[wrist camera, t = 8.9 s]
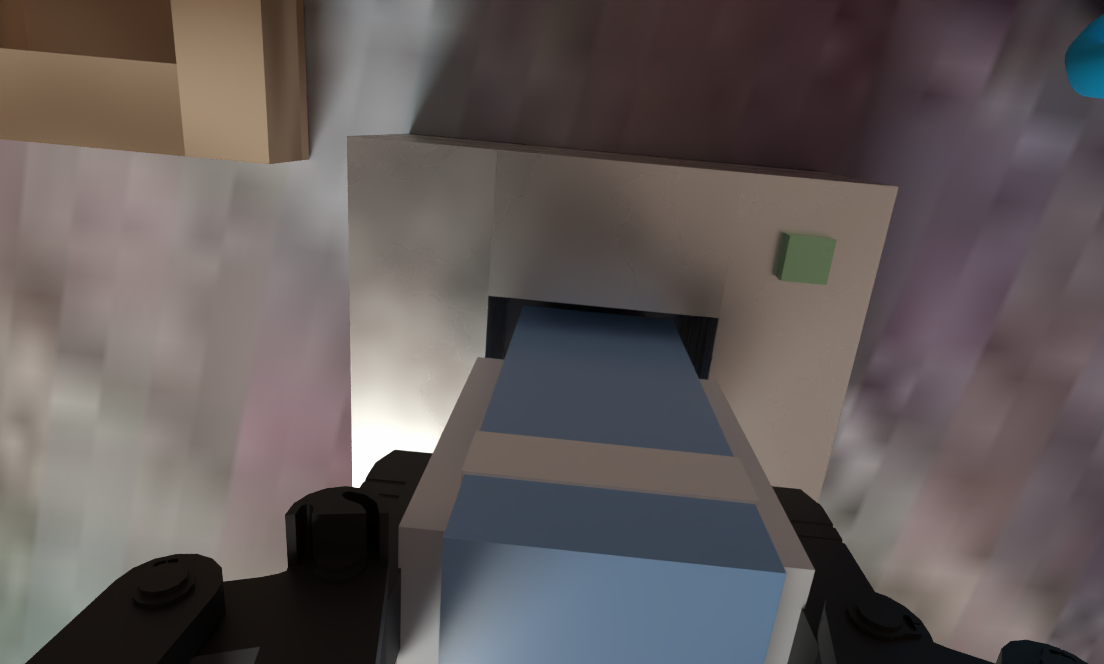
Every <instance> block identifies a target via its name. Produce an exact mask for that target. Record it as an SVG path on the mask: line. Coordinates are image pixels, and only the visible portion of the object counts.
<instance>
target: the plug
mask: <svg viewBox="0 0 1104 664" xmlns="http://www.w3.org/2000/svg"><path fill="white" fill-rule="evenodd" d="M759 502H760V501H759V499H758V497H757V495H756V492H755V490H754V488H753V486H752V484H751V482H750V480H749V477H748V475H747V473H746V471H745V469H744V467H743V464H742V462H741V460H740V458H739V457H734V456H733V454H732V451H731V449H730V447H729V445H728V442H727V440H726V438H725V436H724V434H723V431H722V429H721V427H720V425H719V422H718V420H717V418H716V416H715V414H714V411H713V409H712V407H711V405H710V402H709V400H708V398H707V396H706V394H705V391H704V389H703V387H702V385H701V382H700V380H699V378H698V376H697V374H696V371H695V369H694V367H693V365H692V363H691V360H690V358H689V356H688V354H687V351H686V349H685V347H684V345H683V343H682V340H681V338H680V336H679V334H678V331H677V329H676V327H675V325H674V323H673V320H669V319H659V318H649V317H638V316H628V315H618V314H608V313H597V312H587V311H577V310H566V309H556V308H546V307H535V306H525V305H523V307H522V310H521V313H520V316H519V319H518V322H517V325H516V328H515V330H514V333H513V336H512V339H511V342H510V345H509V348H508V351H507V354H506V356H505V359H504V362H503V365H502V368H501V371H500V374H499V377H498V380H497V382H496V385H495V388H494V391H493V394H492V397H491V400H490V403H489V406H488V408H487V411H486V414H485V417H484V420H483V423H482V426H481V429H480V431H475V434H474V437H473V439H472V442H471V445H470V448H469V451H468V453H467V456H466V459H465V462H464V464H463V467H462V470H461V486H460V489H459V492H458V495H457V498H456V501H455V504H454V507H453V510H452V512H451V515H450V518H449V521H448V524H447V527H446V530H445V533H444V536H443V546H442V573H441V600H440V627H439V654H438V664H764V663H765V659H766V655H767V651H768V647H769V643H770V639H771V635H772V631H773V627H774V622H775V618H776V614H777V610H778V606H779V602H780V598H781V594H782V590H783V586H784V582H785V578H786V574H787V573H786V571H785V569H784V567H783V565H782V562H781V560H780V558H779V556H778V553H777V551H776V549H775V547H774V545H773V542H772V540H771V538H770V536H769V533H768V531H767V529H766V527H765V525H764V522H763V520H762V518H761V516H760V513H759V511H758V507H759Z"/></svg>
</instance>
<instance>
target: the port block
mask: <svg viewBox="0 0 1104 664" xmlns="http://www.w3.org/2000/svg"><path fill="white" fill-rule="evenodd" d="M347 161H348V224H349V287H350V350H351V412H352V475H353V487H358V488H360V486H361V485H362V483H363V481H365V478H366V477H367V475H368V473H369V472H370V470H371V469H372V467H373V465H374V464H375V462H376V461H378V460H379V459H381V458H383V457H384V456H386V455H387V454H389V453H390V452H392V451H393V450H405V451H415V452H424V453H433V452H434V450H435V447H436V445H437V443H438V441H439V439H440V437H441V435H442V432H443V430H444V428H445V426H446V424H447V422H448V420H449V417H450V415H451V413H452V411H453V409H454V407H455V404H456V402H457V400H458V398H459V396H460V394H461V392H462V389H463V387H464V385H465V383H466V381H467V379H468V377H469V374H470V372H471V370H472V368H473V366H474V364H475V362H476V359H477V357H482V358H492V359H502V360H504V359H505V356H506V354H507V351H508V348H509V345H510V342H511V339H512V336H513V333H514V330H515V328H516V325H517V322H518V319H519V316H520V313H521V310H522V307H523V305H525V306H535V307H546V308H556V309H566V310H577V311H587V312H597V313H608V314H618V315H628V316H638V317H649V318H659V319H669V320H673V323H674V325H675V327H676V329H677V331H678V334H679V336H680V338H681V340H682V343H683V345H684V347H685V349H686V351H687V354H688V356H689V358H690V360H691V363H692V365H693V367H694V369H695V371H696V374H697V376H698V378H699V379H704V380H714V381H718V383H719V385H720V387H721V389H722V391H723V393H724V395H725V397H726V399H727V401H728V403H729V405H730V407H731V409H732V411H733V412H734V414H735V416H736V418H737V420H738V422H739V424H740V426H741V428H742V430H743V432H744V434H745V436H746V438H747V440H748V441H749V443H750V445H751V447H752V449H753V451H754V453H755V455H756V457H757V459H758V461H759V463H760V465H761V467H762V469H763V470H764V472H765V474H766V476H767V478H768V480H769V482H770V484H771V486H775V487H785V488H795V489H801V490H802V491H804V492H805V493H806V494H807V495H809V496H810V497H811V498H812V499H813V500H815V501H816V502H817V503H818V501H819V497H820V493H821V489H822V485H823V481H824V477H825V473H826V469H827V466H828V462H829V458H830V454H831V450H832V446H833V442H834V438H835V434H836V430H837V426H838V422H839V418H840V415H841V411H842V407H843V403H844V399H845V395H846V391H847V387H848V383H849V379H850V375H851V371H852V368H853V364H854V360H855V356H856V352H857V348H858V344H859V340H860V336H861V332H862V328H863V324H864V320H865V317H866V313H867V309H868V305H869V301H870V297H871V293H872V289H873V285H874V281H875V277H876V273H877V270H878V266H879V262H880V258H881V254H882V250H883V246H884V242H885V238H886V234H887V230H888V226H889V222H890V219H891V215H892V211H893V207H894V203H895V199H896V195H897V191H898V187H897V186H892V185H887V184H881V183H876V182H871V181H866V180H860V179H855V178H850V177H845V176H840V175H834V174H829V173H824V172H819V171H810V170H799V169H788V168H777V167H766V166H755V165H744V164H733V163H722V162H712V161H701V160H690V159H679V158H668V157H657V156H646V155H635V154H624V153H614V152H603V151H592V150H581V149H570V148H559V147H548V146H537V145H526V144H516V143H505V142H494V141H483V140H472V139H461V138H450V137H439V136H428V135H417V134H387V135H361V136H347Z"/></svg>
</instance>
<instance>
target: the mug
mask: <svg viewBox="0 0 1104 664" xmlns="http://www.w3.org/2000/svg"><path fill="white" fill-rule="evenodd" d="M1065 67H1066V72H1067V76H1068V80H1069V82H1070V84H1071V86H1072V88H1073V89H1074V90H1075V91H1076V92H1077V93H1078V94H1080V95H1083V96H1086V97H1094V98H1103V99H1104V14H1103V15H1101V16H1100V17H1099V18H1097V19H1096V20H1094V21H1093V22H1092V23H1090V24H1089V25H1088V26H1087V27H1086V29H1085V30H1084V31H1083V32H1082V33H1081V34H1080V35H1079V36H1078V37H1077V38H1076V39H1075V40H1074V41H1073V42H1072V44H1071V45H1070V46H1069V48H1068V50H1067V52H1066V55H1065Z"/></svg>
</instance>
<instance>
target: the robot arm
mask: <svg viewBox="0 0 1104 664" xmlns="http://www.w3.org/2000/svg"><path fill="white" fill-rule="evenodd" d="M503 362H504V360H502V359H492V358H482V357H477V359H476V362H475V364H474V366H473V368H472V370H471V372H470V374H469V377H468V379H467V381H466V383H465V385H464V387H463V389H462V392H461V394H460V396H459V398H458V400H457V402H456V404H455V407H454V409H453V411H452V413H451V415H450V417H449V420H448V422H447V424H446V426H445V428H444V430H443V432H442V435H441V437H440V439H439V441H438V443H437V445H436V447H435V450H434V452H433V453H424V452H415V451H405V450H393V451H392V452H390V453H389V454H387V455H386V456H384V457H383V458H381V459H379V460H378V461H376V462H375V464H374V465H373V467H372V469H371V470H370V472H369V473H368V475H367V477H366V478H365V481H363V483H362V485H361V486H360V488H358V487H347V486H343V487H335V488H326V489H323V490H320V491H317V492H314V493H311V494H308V495H306V496H305V497H303V498H302V499H300V500H298V501H297V502H295V503H294V504H293V505H292V506H291V508H290V509H289V510H288V512H287V513H286V514H285V521H286V539H287V557H288V568H287V571H285V572H282V573H279V574H275V575H270V576H264V577H258V578H250V579H242V580H234V581H225V582H223V576H222V567H220V566H219V565H218V564H217V563H216V562H215V561H214V560H213V559H212V558H209V557H205V556H202V555H199V554H175V555H170V556H166V557H161V558H156V559H153V560H151V561H148V562H146V563H144V564H141V565H139V566H137V567H134V568H132V569H131V570H130V571H128V572H127V573H125V574H124V575H123V576H121V577H120V578H118V579H117V580H115V581H114V582H113V583H112V584H111V585H110V586H109V587H108V588H107V589H106V590H105V591H103V592H102V593H101V594H100V595H99V596H98V597H97V598H96V599H95V600H94V601H93V602H91V603H90V604H89V605H88V606H87V607H86V608H85V609H84V610H83V611H82V612H81V613H80V614H78V615H77V616H76V617H75V618H74V619H73V620H72V621H71V622H70V623H69V624H68V625H67V626H65V627H64V628H63V629H62V630H61V631H60V632H59V633H58V634H57V635H56V636H55V637H53V638H52V639H51V640H50V641H49V642H48V643H47V644H46V645H45V646H44V647H43V648H42V649H40V650H39V651H38V652H37V653H36V654H35V655H34V656H33V657H32V658H31V659H30V660H28V661H27V662H26V663H25V664H395V662H396V659H397V664H438V654H439V627H440V600H441V573H442V546H443V536H444V533H445V530H446V527H447V524H448V521H449V518H450V515H451V512H452V510H453V507H454V504H455V501H456V498H457V495H458V492H459V489H460V486H461V470H462V467H463V464H464V462H465V459H466V456H467V453H468V451H469V448H470V445H471V442H472V439H473V437H474V434H475V431H480V429H481V426H482V423H483V420H484V417H485V414H486V411H487V408H488V406H489V403H490V400H491V397H492V394H493V391H494V388H495V385H496V382H497V380H498V377H499V374H500V371H501V368H502V365H503ZM699 380H700V382H701V385H702V387H703V389H704V391H705V394H706V396H707V398H708V400H709V402H710V405H711V407H712V409H713V411H714V414H715V416H716V418H717V420H718V422H719V425H720V427H721V429H722V431H723V434H724V436H725V438H726V440H727V442H728V445H729V447H730V449H731V451H732V454H733V456H734V457H739V458H740V460H741V462H742V464H743V467H744V469H745V471H746V473H747V475H748V477H749V480H750V482H751V484H752V486H753V488H754V490H755V492H756V495H757V497H758V499H759V501H760V502H759V507H758V511H759V513H760V516H761V518H762V520H763V522H764V525H765V527H766V529H767V531H768V533H769V536H770V538H771V540H772V542H773V545H774V547H775V549H776V551H777V553H778V556H779V558H780V560H781V562H782V565H783V567H784V569H785V571H786V573H787V574H786V578H785V582H784V586H783V590H782V594H781V598H780V602H779V606H778V610H777V614H776V618H775V622H774V627H773V631H772V635H771V639H770V643H769V647H768V651H767V655H766V659H765V663H764V664H995V663H992V662H989V661H986V660H983V659H980V658H977V657H974V656H971V655H968V654H965V653H961V652H958V651H955V650H952V649H949V648H947V647H944V646H942V645H939V644H937V643H934V642H933V640H932V637H931V635H930V633H929V632H928V630H927V629H926V627H925V626H924V624H923V623H922V621H921V620H920V619H919V618H918V617H916V616H915V615H914V614H913V613H912V612H911V611H910V610H908V609H907V608H906V607H905V606H903V605H901V604H900V603H898V602H896V601H894V600H892V599H891V598H889V597H887V596H885V595H882V594H879V593H876V592H875V591H874V590H873V588H872V587H871V585H870V583H869V582H868V580H867V578H866V577H865V575H864V574H863V572H862V570H861V569H860V567H859V566H858V564H857V562H856V561H855V559H854V558H853V556H852V554H851V553H850V551H849V549H848V548H847V546H846V545H845V544H844V543H842V538H841V537H840V535H839V533H838V532H837V530H836V529H835V528H833V524H832V522H831V521H830V519H829V517H828V516H827V514H826V512H825V511H824V509H823V508H822V506H821V505H820V504H818V503H817V502H816V501H815V500H813V499H812V498H811V497H810V496H809V495H807V494H806V493H805V492H804V491H802V490H801V489H795V488H785V487H775V486H771V484H770V482H769V480H768V478H767V476H766V474H765V472H764V470H763V469H762V467H761V465H760V463H759V461H758V459H757V457H756V455H755V453H754V451H753V449H752V447H751V445H750V443H749V441H748V440H747V438H746V436H745V434H744V432H743V430H742V428H741V426H740V424H739V422H738V420H737V418H736V416H735V414H734V412H733V411H732V409H731V407H730V405H729V403H728V401H727V399H726V397H725V395H724V393H723V391H722V389H721V387H720V385H719V383H718V381H714V380H704V379H699ZM996 664H1088V663H1086V662H1084V661H1083V660H1081V659H1079V658H1078V657H1077V656H1075V655H1073V654H1071V653H1069V652H1067V651H1065V650H1061V649H1060V648H1057V647H1054V646H1051V645H1049V644H1044V643H1039V642H1035V641H1030V640H1019V641H1010V642H1009V643H1008V644H1007V645H1005V646H1004V647H1003V648H1002V649H1001V652H1000V654H999V657H998V659H997V662H996Z"/></svg>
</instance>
